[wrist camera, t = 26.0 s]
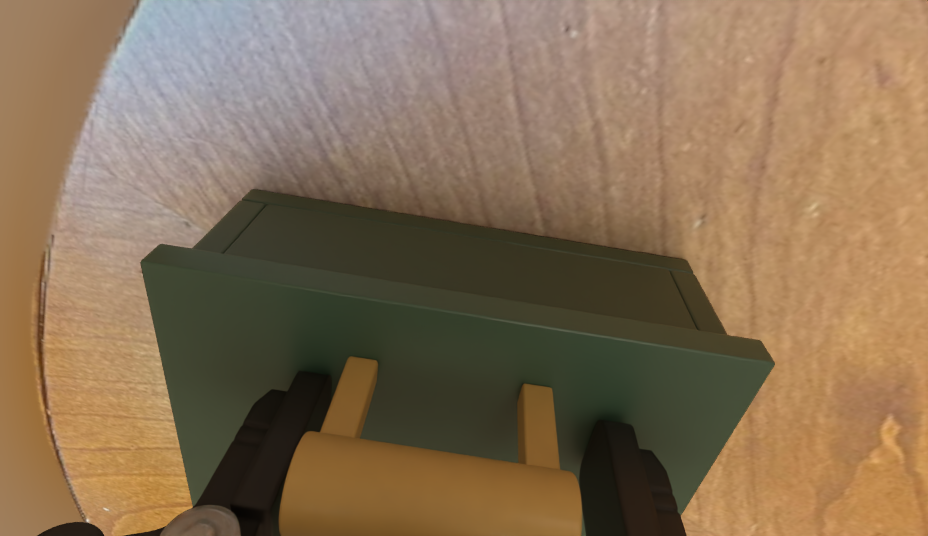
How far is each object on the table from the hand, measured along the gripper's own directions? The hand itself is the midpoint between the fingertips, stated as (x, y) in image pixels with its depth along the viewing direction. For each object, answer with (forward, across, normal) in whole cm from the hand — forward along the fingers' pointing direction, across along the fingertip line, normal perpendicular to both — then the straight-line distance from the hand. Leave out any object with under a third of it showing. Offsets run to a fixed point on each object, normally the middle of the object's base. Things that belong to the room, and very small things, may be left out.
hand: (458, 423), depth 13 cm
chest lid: (+1, 0, +5) cm, 5 cm away
